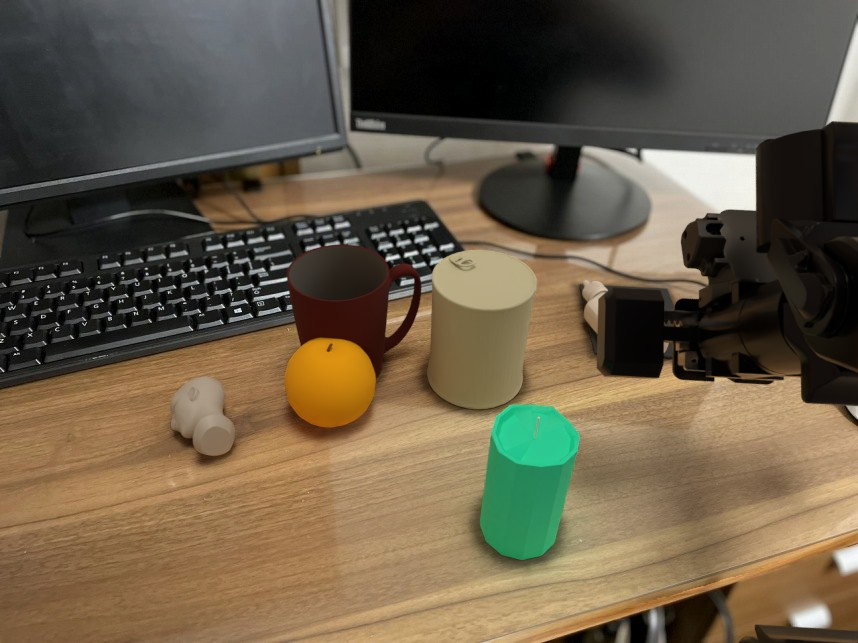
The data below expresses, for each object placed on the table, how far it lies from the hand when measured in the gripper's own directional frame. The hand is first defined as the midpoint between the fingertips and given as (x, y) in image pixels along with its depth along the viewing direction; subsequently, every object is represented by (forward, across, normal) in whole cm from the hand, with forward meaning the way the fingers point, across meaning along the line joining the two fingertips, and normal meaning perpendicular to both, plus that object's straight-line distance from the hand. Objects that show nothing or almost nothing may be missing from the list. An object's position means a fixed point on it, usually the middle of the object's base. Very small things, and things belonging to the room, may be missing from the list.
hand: (689, 349), depth 55 cm
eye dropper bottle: (+10, 0, -1) cm, 10 cm away
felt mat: (+16, 0, -4) cm, 17 cm away
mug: (+10, +28, +2) cm, 30 cm away
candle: (-2, +14, +15) cm, 20 cm away
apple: (+6, +30, +7) cm, 31 cm away
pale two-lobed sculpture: (+3, +41, +9) cm, 42 cm away
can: (+10, +17, +3) cm, 20 cm away
